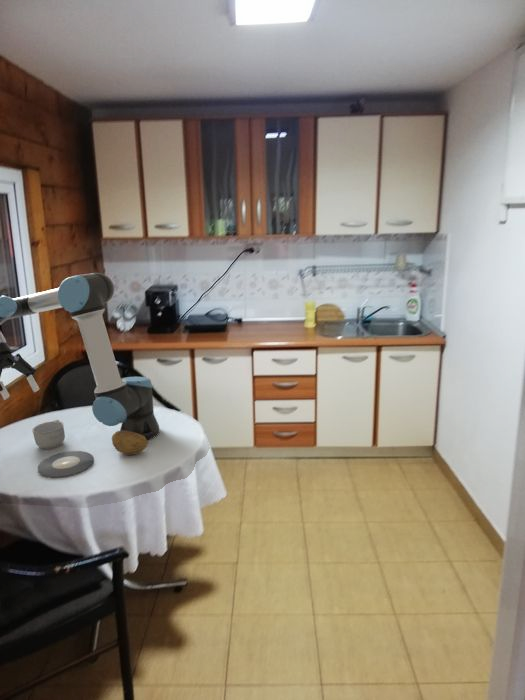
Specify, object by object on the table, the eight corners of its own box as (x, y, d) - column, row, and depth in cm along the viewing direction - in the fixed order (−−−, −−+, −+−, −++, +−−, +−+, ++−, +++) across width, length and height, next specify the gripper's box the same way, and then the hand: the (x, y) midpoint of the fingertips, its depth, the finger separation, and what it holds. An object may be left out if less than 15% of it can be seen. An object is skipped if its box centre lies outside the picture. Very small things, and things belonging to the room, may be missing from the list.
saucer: (102, 454, 179) (102, 451, 178) (78, 479, 161) (78, 476, 161) (55, 452, 181) (55, 449, 181) (27, 476, 164) (26, 473, 163)
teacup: (54, 453, 181) (52, 432, 179) (28, 450, 183) (25, 430, 181) (76, 437, 194) (73, 418, 192) (51, 435, 196) (48, 416, 194)
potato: (137, 462, 172) (135, 441, 170) (106, 455, 178) (104, 434, 176) (155, 451, 181) (153, 431, 179) (125, 444, 187) (123, 424, 185)
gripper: (18, 347, 202) (42, 392, 200) (-39, 355, 180) (-13, 406, 178) (29, 338, 199) (53, 383, 197) (-28, 345, 177) (-1, 396, 175)
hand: (22, 394), depth 187 cm, fingers open, 13 cm apart
